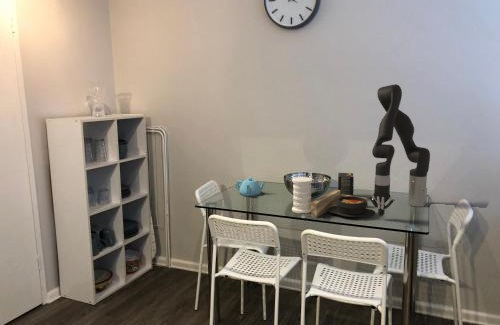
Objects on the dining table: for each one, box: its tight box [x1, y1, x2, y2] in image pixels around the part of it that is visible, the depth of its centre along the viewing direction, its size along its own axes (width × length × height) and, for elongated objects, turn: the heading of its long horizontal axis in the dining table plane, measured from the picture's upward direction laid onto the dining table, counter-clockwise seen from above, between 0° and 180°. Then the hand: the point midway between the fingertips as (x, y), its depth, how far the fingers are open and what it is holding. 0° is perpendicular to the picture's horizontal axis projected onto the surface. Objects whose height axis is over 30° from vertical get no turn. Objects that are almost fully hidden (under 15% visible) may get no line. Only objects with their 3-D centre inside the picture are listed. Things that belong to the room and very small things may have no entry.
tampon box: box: [337, 172, 355, 196], centre depth 254 cm, size 11×9×15 cm
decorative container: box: [291, 176, 313, 214], centre depth 231 cm, size 12×12×18 cm
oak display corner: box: [310, 189, 369, 219], centre depth 228 cm, size 18×32×8 cm, turn 143°
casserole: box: [327, 195, 376, 219], centre depth 223 cm, size 25×19×8 cm
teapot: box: [234, 177, 267, 197], centre depth 268 cm, size 15×15×11 cm
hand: (381, 215), depth 214 cm, fingers closed
